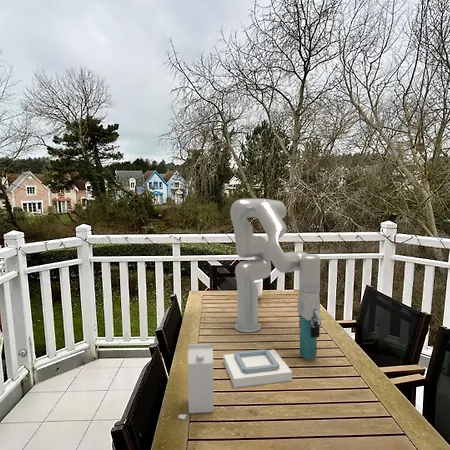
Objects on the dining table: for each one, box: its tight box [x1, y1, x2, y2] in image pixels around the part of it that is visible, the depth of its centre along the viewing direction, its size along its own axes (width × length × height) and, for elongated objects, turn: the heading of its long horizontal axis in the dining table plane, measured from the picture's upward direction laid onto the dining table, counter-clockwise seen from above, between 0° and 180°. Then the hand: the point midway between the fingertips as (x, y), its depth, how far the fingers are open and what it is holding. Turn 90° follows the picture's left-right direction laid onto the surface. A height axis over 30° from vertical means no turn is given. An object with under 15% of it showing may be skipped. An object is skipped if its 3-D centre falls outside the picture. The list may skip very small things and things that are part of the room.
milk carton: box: [187, 343, 214, 414], centre depth 102 cm, size 7×7×19 cm
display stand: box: [222, 348, 293, 389], centre depth 123 cm, size 17×20×4 cm
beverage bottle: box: [298, 317, 318, 359], centre depth 131 cm, size 6×7×20 cm
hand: (308, 332), depth 131 cm, fingers open, 9 cm apart
